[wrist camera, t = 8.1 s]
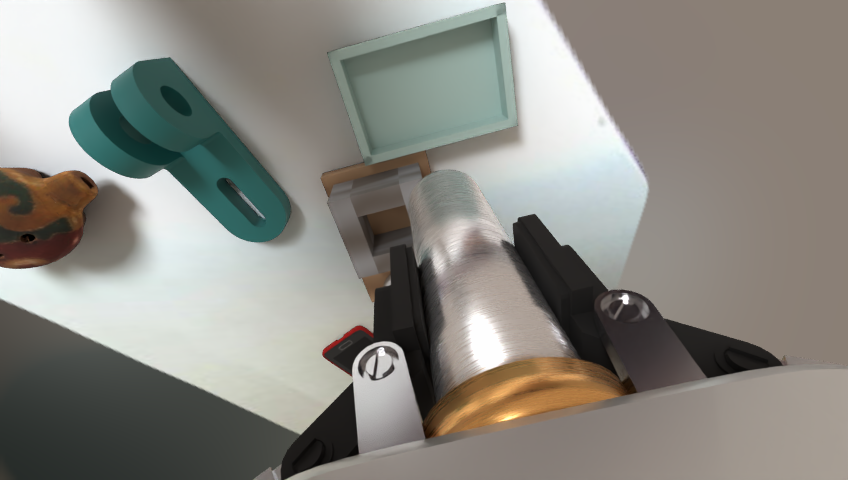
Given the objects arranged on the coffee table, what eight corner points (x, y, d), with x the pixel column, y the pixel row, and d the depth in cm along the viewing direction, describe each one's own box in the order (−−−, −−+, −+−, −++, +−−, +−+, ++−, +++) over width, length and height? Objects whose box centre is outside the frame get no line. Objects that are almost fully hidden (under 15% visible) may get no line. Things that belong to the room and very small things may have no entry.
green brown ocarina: (-51, 202, 36) (-157, 235, 29) (62, 122, 34) (-20, 137, 27) (41, 272, 40) (-31, 316, 33) (146, 204, 38) (94, 236, 31)
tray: (331, 50, 32) (326, 52, 30) (495, 4, 31) (505, 2, 29) (367, 156, 37) (365, 166, 35) (508, 118, 36) (517, 125, 34)
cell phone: (360, 321, 49) (359, 326, 48) (426, 373, 55) (427, 378, 55) (320, 349, 51) (319, 355, 50) (389, 396, 57) (389, 401, 57)
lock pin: (388, 172, 16) (399, 456, 5) (485, 149, 16) (688, 394, 5) (410, 253, 18) (447, 562, 8) (495, 233, 18) (650, 519, 8)
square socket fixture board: (322, 173, 38) (309, 202, 31) (424, 146, 37) (431, 170, 31) (372, 294, 46) (370, 337, 40) (455, 274, 46) (466, 314, 39)
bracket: (116, 98, 33) (45, 115, 26) (171, 57, 31) (111, 64, 25) (256, 241, 41) (230, 283, 34) (303, 214, 40) (286, 251, 33)
